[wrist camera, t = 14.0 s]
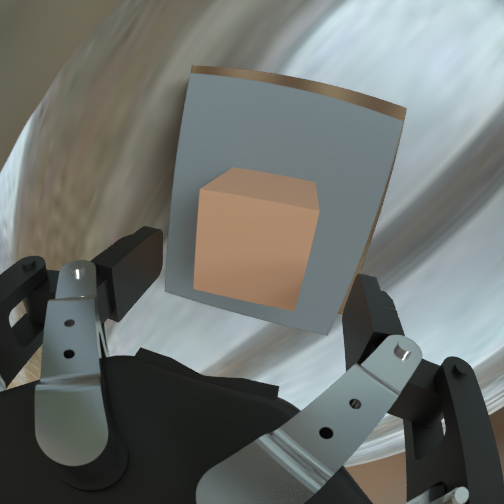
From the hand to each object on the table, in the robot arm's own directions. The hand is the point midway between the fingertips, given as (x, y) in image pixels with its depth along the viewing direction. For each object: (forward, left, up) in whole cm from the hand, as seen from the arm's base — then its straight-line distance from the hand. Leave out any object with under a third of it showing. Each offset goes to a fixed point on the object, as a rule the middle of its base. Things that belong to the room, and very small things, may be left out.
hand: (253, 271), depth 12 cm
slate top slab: (0, 0, -11) cm, 11 cm away
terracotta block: (0, 0, -7) cm, 7 cm away
